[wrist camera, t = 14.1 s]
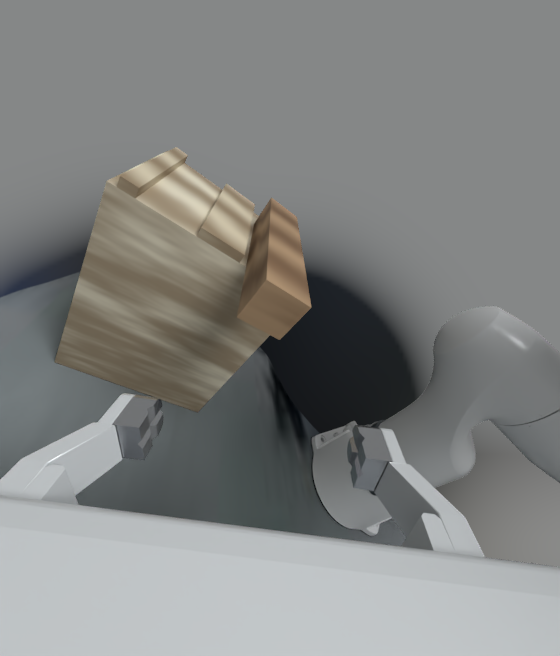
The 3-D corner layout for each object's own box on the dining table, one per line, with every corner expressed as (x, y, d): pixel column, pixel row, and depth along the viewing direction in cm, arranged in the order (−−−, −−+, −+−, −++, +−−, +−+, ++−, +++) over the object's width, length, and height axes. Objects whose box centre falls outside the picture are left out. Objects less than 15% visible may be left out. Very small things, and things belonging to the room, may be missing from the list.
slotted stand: (111, 293, 48) (170, 142, 34) (215, 342, 55) (298, 236, 41) (54, 362, 35) (110, 169, 21) (197, 412, 43) (307, 294, 29)
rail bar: (254, 224, 36) (271, 197, 34) (278, 241, 38) (296, 216, 36) (236, 317, 21) (266, 279, 19) (279, 339, 22) (311, 307, 20)
